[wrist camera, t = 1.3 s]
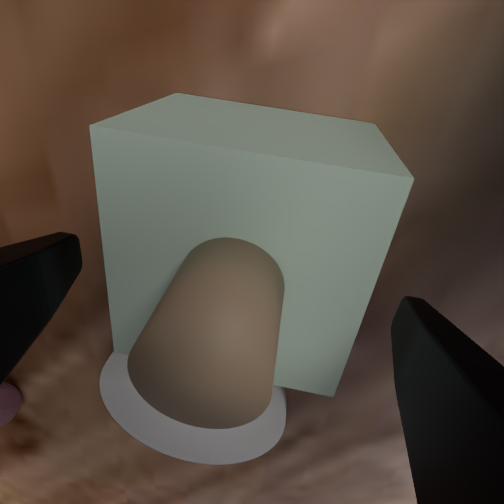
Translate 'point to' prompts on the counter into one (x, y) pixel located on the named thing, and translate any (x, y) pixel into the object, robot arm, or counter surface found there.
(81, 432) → the counter surface
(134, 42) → the counter surface
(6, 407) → the video game controller
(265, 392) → the sage camera
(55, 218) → the counter surface
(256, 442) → the saucer
